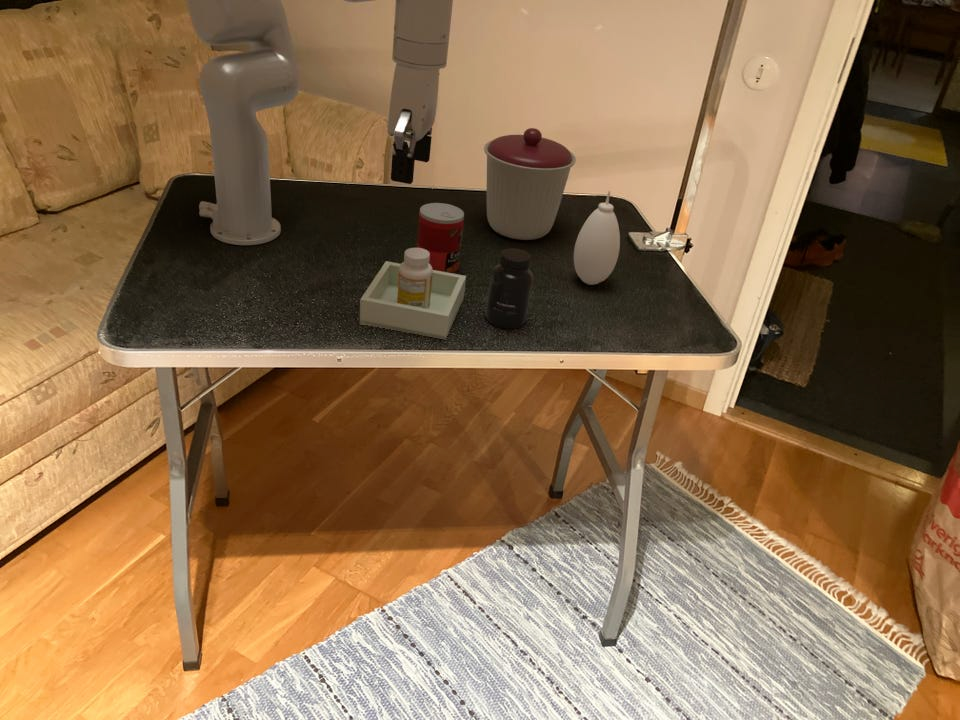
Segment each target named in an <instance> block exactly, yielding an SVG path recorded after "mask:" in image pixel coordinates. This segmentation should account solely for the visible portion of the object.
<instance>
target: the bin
mask: <svg viewBox="0 0 960 720" xmlns="http://www.w3.org/2000/svg"><path fill="white" fill-rule="evenodd" d="M400 265H401V263H398V262H392V261H387V260H386V261H385V262H384V264H383V265H382V267H381V268H380V270H379V271H378V272H377V274H376V275H375V276H374V278H373V280H372V281H371V283H370V284H369V285H368V287H367V289H366V290H365V292H364V293H363V295H362V297H361V298H360V300H359V325H362V326H366V325H368V327H371V326H373V327H372V328H377V327H379V328H378V329H382V328H385V329H384V330H387V329H391V330H390V331H392V330H397V331H402V332H401V333H403V332H408V333H414V334H419V335H420V334H421V335H425V336H429V337H434V338H440V339H445V340H446V341H447V339H448V337H449V335H448V334H450V332H451V330H450V329H452V328H451V327H453V325H454V323H453V322H455V321H454V320H456V318H457V316H458V314H457V313H459V311H460V309H461V307H460V306H462V304H463V302H464V299H465V290H466V281H467V275H461V274H459V273H458V274H457V273H454V274H453V273H447V272H442V271H436V270H433V275H432V285H431V298H430V307H429V309H426V308H420V307H415V306H410V305H404V304H399V303H397V296H398V278H399V267H400ZM459 308H460V309H459ZM456 315H457V316H456ZM455 317H456V318H455ZM452 324H453V325H452ZM397 331H396V332H397ZM449 331H450V332H449ZM408 333H407V334H408ZM447 336H448V337H447ZM434 338H433V339H434ZM446 338H447V339H446Z"/></svg>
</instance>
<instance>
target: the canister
mask: <svg viewBox="0 0 960 720" xmlns="http://www.w3.org/2000/svg"><path fill="white" fill-rule="evenodd" d="M483 151H484V153H485V155H486V217H487V222H488V223H489V226H490V227H491V228H492V230H494V232H496V233H497V234H499V235H501V236H504V237H505V238H508V239H513V240H514V239H515V240H520V241H522V240H523V241H528V240H529V241H531V240H537V239H541V238H543V237H545V236H546V235H547V234H548V233H550V232H551V230H552V227H553V226H554V223H555V220H556V217H557V215H558V211H559V208H560V205H561V203H562V199H563V196H564V195H563V194H564V192H565V188H566V185H567V182H568V179H569V174H570V171H571V168H572V167H573V166H574V165H575V164H576V161H577V159H576V155H575V154H573V153H572V151H570V150H569V149H568V148H567V147H566V146H564V145H563V144H561V143H560V142H557V141H554V140H553V139H549V138H546V137H542V131H540V130H539V129H538V128H535V127H532V128H531V127H529V128H527V129H526V130H525V131H524V132H523V134H507V135H502V136H499V137H495V138H494V139H492V140H490V141H488V142H487V143H486V144H485V145H484V147H483Z"/></svg>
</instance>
